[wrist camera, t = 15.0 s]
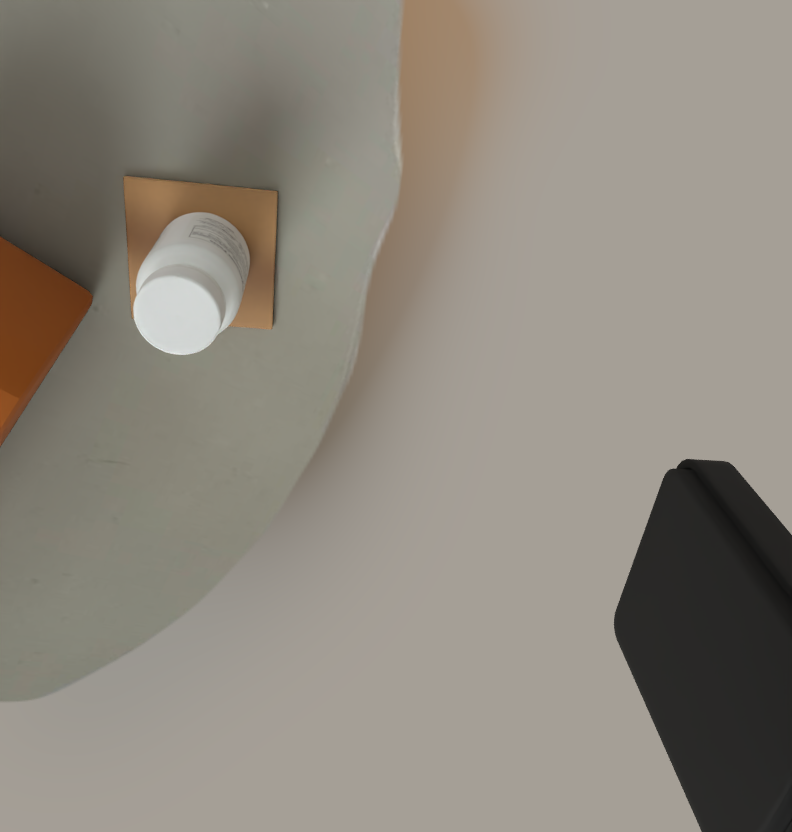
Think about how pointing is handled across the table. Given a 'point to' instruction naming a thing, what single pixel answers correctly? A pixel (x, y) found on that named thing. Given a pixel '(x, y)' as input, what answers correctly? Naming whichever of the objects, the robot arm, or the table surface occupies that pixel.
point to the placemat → (242, 207)
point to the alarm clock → (32, 326)
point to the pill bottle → (191, 283)
